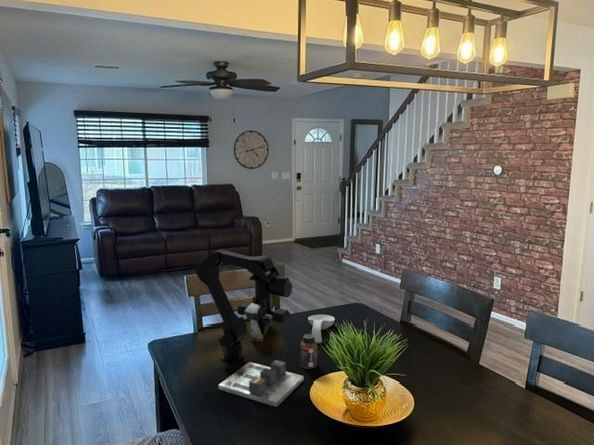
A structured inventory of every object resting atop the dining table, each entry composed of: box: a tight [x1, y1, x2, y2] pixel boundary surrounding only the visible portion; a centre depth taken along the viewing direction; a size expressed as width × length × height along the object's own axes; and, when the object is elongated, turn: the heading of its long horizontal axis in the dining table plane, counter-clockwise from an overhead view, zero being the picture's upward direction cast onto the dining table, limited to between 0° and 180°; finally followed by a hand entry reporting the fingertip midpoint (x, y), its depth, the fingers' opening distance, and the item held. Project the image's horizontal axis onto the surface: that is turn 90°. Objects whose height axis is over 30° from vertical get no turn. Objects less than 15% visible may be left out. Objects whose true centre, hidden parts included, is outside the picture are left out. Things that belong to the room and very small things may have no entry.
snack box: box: [250, 319, 265, 342], centre depth 191 cm, size 21×6×15 cm, turn 179°
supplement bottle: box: [300, 333, 318, 370], centre depth 161 cm, size 6×6×11 cm
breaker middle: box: [260, 368, 276, 386], centre depth 147 cm, size 4×4×4 cm
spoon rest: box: [307, 314, 336, 344], centre depth 191 cm, size 24×12×7 cm, turn 171°
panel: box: [218, 361, 305, 408], centre depth 149 cm, size 22×18×2 cm
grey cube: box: [249, 377, 266, 395], centre depth 141 cm, size 4×4×4 cm
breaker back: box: [269, 359, 287, 377], centre depth 153 cm, size 4×4×4 cm
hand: (263, 335), depth 159 cm, fingers closed
